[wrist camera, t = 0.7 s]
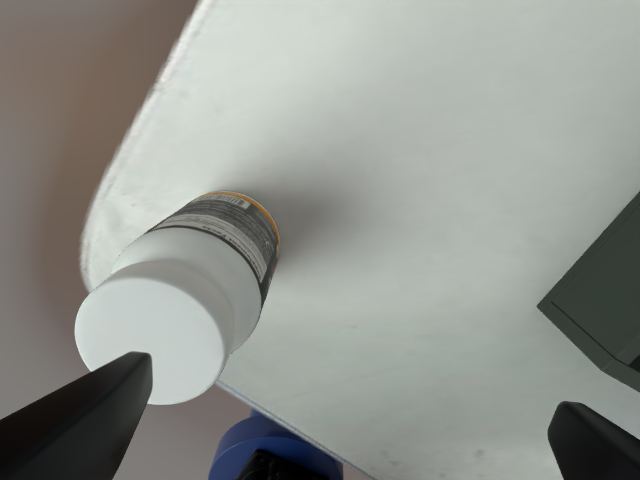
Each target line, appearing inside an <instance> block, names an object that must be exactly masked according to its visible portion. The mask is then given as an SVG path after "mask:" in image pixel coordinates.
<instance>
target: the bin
mask: <svg viewBox="0 0 640 480" xmlns="http://www.w3.org/2000/svg"><path fill="white" fill-rule="evenodd" d="M537 308H538V309H539V310H540V311H541V312H543V314H544V315H545V316H546V317H547V318H548V319H549V320H550V321H551V322H552V323H553V324H554V325H555V326H556V327H557V328H559V329H560V330H561V331H562V332H563V333H564V334H565V335H566V336H567V337H568V338H569V339H570V340H571V341H572V342H573V343H574V344H575V345H576V346H577V347H578V348H579V349H580V350H581V351H582V352H583V353H584V354H585V355H586V356H587V357H588V358H589V359H590V360H591V361H592V362H593V363H594V364H595V365H596V366H597V367H598V368H599V369H600V370H601V371H603V372H604V373H606V374H608V375H610V376H611V377H613V378H615V379H617V380H619V381H620V382H622V383H624V384H626V385H627V386H629V387H631V388H633V389H635V390H636V391H638V392H640V192H639V193H638V194H637V195H636V197H635V198H634V199H633V200H632V201H631V202H630V203H629V204H628V205H627V207H626V208H625V209H624V210H623V211H622V212H621V213H620V214H619V215H618V217H617V218H616V219H615V220H614V221H613V222H612V223H611V224H610V225H609V227H608V228H607V229H606V230H605V231H604V232H603V233H602V234H601V235H600V237H599V238H598V239H597V240H596V241H595V242H594V243H593V244H592V245H591V247H590V248H589V249H588V250H587V251H586V252H585V253H584V254H583V255H582V256H581V258H580V259H579V260H578V261H577V262H576V263H575V264H574V265H573V266H572V268H571V269H570V270H569V271H568V272H567V273H566V274H565V275H564V276H563V278H562V279H561V280H560V281H559V282H558V283H557V284H556V285H555V286H554V288H553V289H552V290H551V291H550V292H549V293H548V294H547V295H546V296H545V298H544V299H543V300H542V301H541V302H540V303H539V304H538V305H537Z"/></svg>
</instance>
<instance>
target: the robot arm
mask: <svg viewBox="0 0 640 480" xmlns="http://www.w3.org/2000/svg"><path fill="white" fill-rule="evenodd" d="M152 388H153V368H152V357H151V355H150V354H149V353H146V352H138V351H130V352H128V353H126V354H124V355H122V356H120V357H118V358H117V359H115V360H113V361H111V362H109V363H107V364H105V365H103V366H101V367H99V368H98V369H96V370H94V371H92V372H90V373H88V374H86V375H84V376H83V377H81V378H79V379H77V380H75V381H73V382H71V383H69V384H67V385H65V386H63V387H62V388H60V389H58V390H56V391H54V392H52V393H50V394H48V395H47V396H44V397H43V398H41V399H39V400H37V401H35V402H33V403H31V404H29V405H28V406H26V407H24V408H22V409H20V410H18V411H16V412H14V413H12V414H11V415H9V416H7V417H5V418H3V419H1V420H0V480H112V479H113V477H114V475H115V473H116V471H117V469H118V468H119V466H120V463H121V461H122V459H123V457H124V455H125V453H126V450H127V448H128V446H129V443H130V441H131V439H132V437H133V434H134V432H135V430H136V427H137V425H138V423H139V420H140V418H141V416H142V414H143V411H144V409H145V407H146V405H147V402H148V400H149V398H150V395H151V392H152ZM548 440H549V443H550V446H551V448H552V451H553V453H554V456H555V458H556V461H557V464H558V466H559V469H560V471H561V474H562V476H563V479H564V480H640V440H639V439H637V438H636V437H634V436H633V435H631V434H630V433H628V432H627V431H625V430H623V429H622V428H620V427H619V426H617V425H616V424H614V423H612V422H611V421H609V420H608V419H606V418H605V417H603V416H601V415H600V414H598V413H597V412H595V411H594V410H592V409H590V408H589V407H587V406H586V405H584V404H582V403H577V402H568V401H563V402H561V403H560V404H559V405H558V406H557V409H556V411H555V414H554V416H553V418H552V421H551V423H550V425H549V428H548ZM234 480H329V479H328V478H327V477H325V476H323V475H320V474H318V473H316V472H314V471H311V470H309V469H307V468H305V467H302V466H300V465H298V464H295V463H293V462H291V461H289V460H286V459H284V458H282V457H280V456H277V455H275V454H273V453H270V452H268V451H266V450H264V449H256V450H255V451H254V452H253V454H252V455H251V456H250V458H249V459H248V461H247V462H246V464H245V465H244V466H243V468H242V469H241V471H240V472H239V474H238V475H237V476H236V478H235V479H234Z"/></svg>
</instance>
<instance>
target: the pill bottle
mask: <svg viewBox="0 0 640 480" xmlns="http://www.w3.org/2000/svg"><path fill="white" fill-rule="evenodd" d="M279 252H280V236H279V232H278V228H277V226H276V223H275V221H274V220H273V218H272V216H271V215H270V213H269V212H268V211H267V210H266V209H265V208H264V207H263V206H262V205H261V204H260V203H258V202H257V201H255V200H254V199H252V198H250V197H248V196H246V195H244V194H240V193H237V192H231V191H216V192H211V193H207V194H205V195H202V196H200V197H198V198H196V199H194V200H192V201H191V202H189V203H188V204H186V205H185V206H184V207H182V208H181V209H180V210H178V211H177V212H175V213H174V214H172V215H171V216H169V217H167V218H166V219H165V220H163V221H162V222H160V223H159V224H157V225H156V226H154V227H153V228H151V229H150V230H148V231H147V232H145V233H144V234H143V235H141V236H140V237H139V238H137V239H136V240H134V241H133V242H132V243H131V244H130V245H129V246H127V247H126V248H125V249H124V250H123V252H122V253H121V254H120V255H119V257H118V258H117V260H116V262H115V264H114V266H113V268H112V271H111V273H110V276H109V277H108V278H107V279H106V280H105V281H104V282H103V283H101V284H100V285H99V286H98V287H96V288H95V289H94V290H93V291H92V292H91V293H90V294H89V295H88V296H87V298H86V299H85V300H84V301H83V304H82V305H81V307H80V309H79V311H78V314H77V317H76V323H75V339H76V344H77V347H78V350H79V353H80V355H81V357H82V359H83V361H84V363H85V364H86V365H87V367H88V368H89V370H90V371H91V372H92V371H94V370H96V369H98V368H99V367H101V366H103V365H105V364H107V363H109V362H111V361H113V360H115V359H117V358H118V357H120V356H122V355H124V354H126V353H128V352H130V351H138V352H146V353H149V354H150V355H151V357H152V368H153V388H152V392H151V395H150V398H149V400H148V402H147V404H157V405H163V404H164V405H165V404H175V403H181V402H184V401H188V400H190V399H192V398H195V397H197V396H199V395H200V394H202V393H204V392H205V391H206V390H207V389H209V388H210V387H211V386H212V385H213V384H214V383H215V381H216V380H217V379H218V378H219V376H220V374H221V373H222V371H223V369H224V366H225V364H226V362H227V360H228V357H229V354H231V353H233V352H234V351H235V350H237V349H238V348H239V347H240V346H241V345H242V344H243V343H244V342H245V341H246V340H247V339H248V338H249V337H250V335H251V334H252V332H253V330H254V329H255V327H256V325H257V323H258V320H259V318H260V314H261V310H262V308H263V304H264V301H265V299H266V296H267V293H268V290H269V286H270V283H271V280H272V277H273V274H274V271H275V267H276V264H277V261H278V257H279Z"/></svg>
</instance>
